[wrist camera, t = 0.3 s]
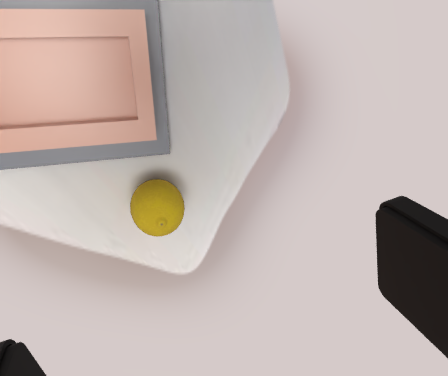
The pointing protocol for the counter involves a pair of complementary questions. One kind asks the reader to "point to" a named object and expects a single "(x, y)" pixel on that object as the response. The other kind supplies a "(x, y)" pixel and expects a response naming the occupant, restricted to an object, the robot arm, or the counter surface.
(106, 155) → the baseplate
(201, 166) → the counter surface
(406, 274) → the robot arm
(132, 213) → the lemon
